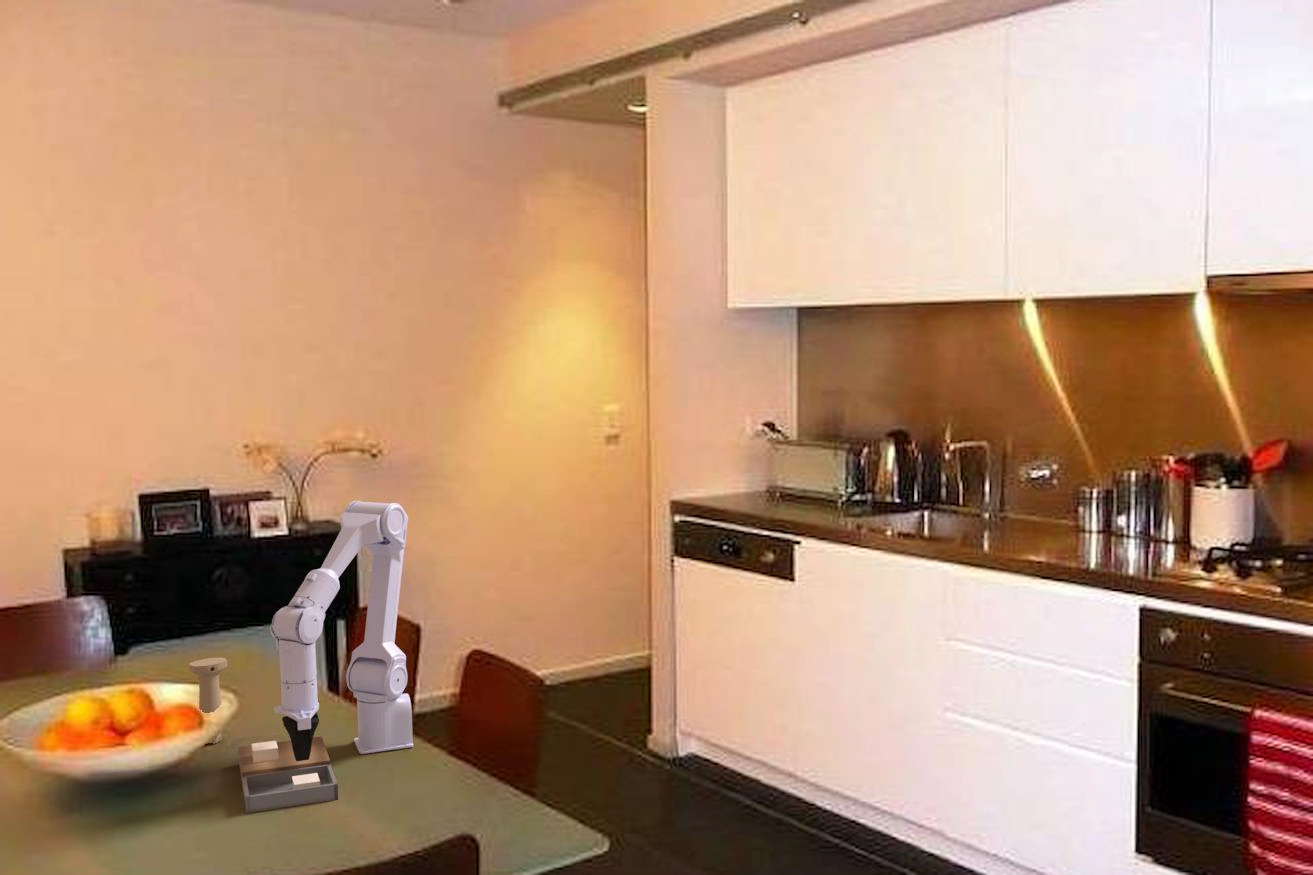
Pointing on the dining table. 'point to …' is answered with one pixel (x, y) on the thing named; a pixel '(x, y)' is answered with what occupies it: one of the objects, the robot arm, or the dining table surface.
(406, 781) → the dining table surface
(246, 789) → the tray
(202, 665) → the handle
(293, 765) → the board
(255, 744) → the tile
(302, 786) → the tile
